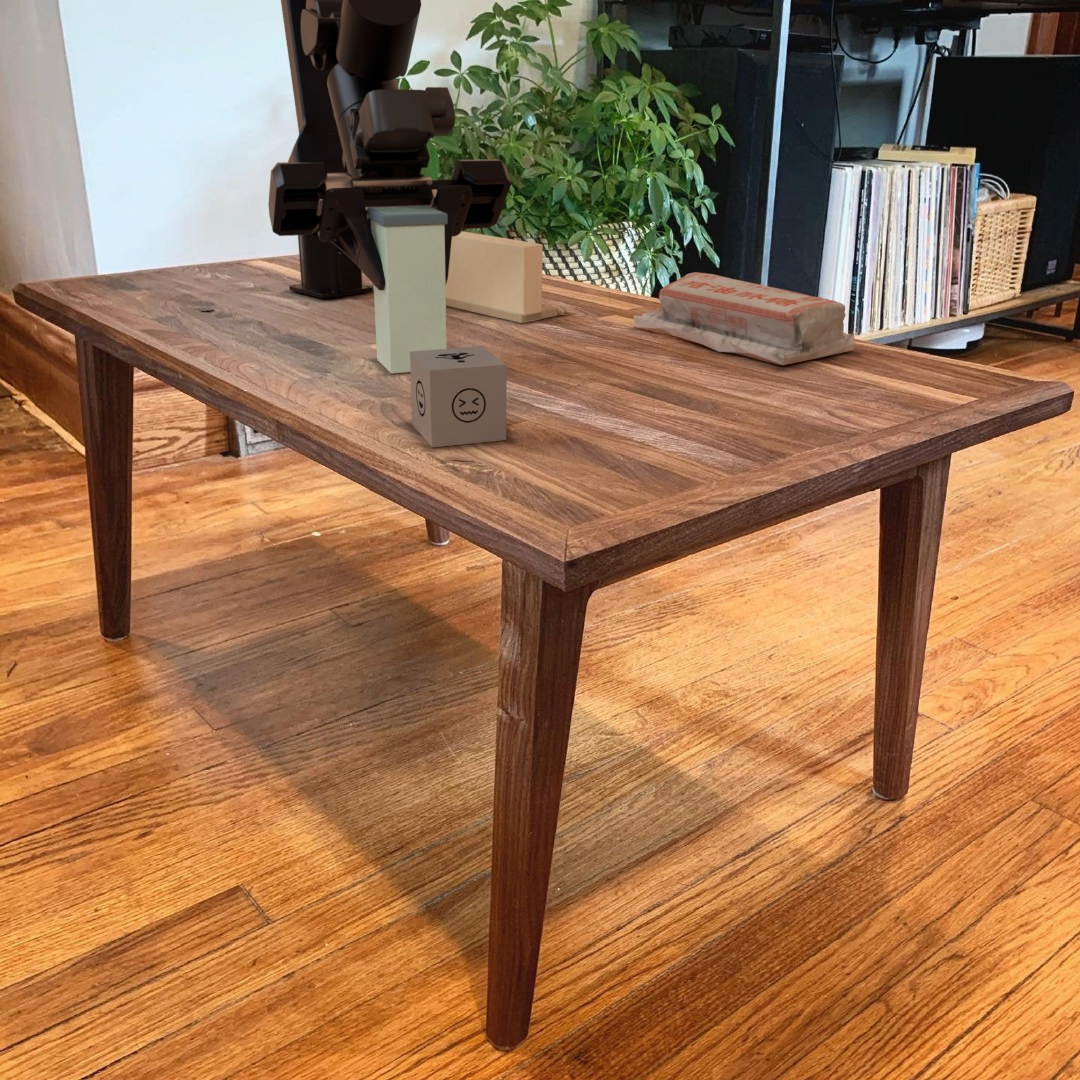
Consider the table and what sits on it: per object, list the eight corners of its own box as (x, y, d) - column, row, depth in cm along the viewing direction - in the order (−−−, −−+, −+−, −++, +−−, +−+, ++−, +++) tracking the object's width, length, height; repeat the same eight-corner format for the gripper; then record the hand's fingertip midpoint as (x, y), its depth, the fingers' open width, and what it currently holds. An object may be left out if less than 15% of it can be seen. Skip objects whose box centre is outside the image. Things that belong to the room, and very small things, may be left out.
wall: (430, 302, 109) (428, 231, 107) (466, 295, 113) (466, 227, 110) (521, 323, 101) (522, 247, 98) (557, 315, 105) (559, 241, 102)
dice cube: (482, 417, 74) (482, 346, 72) (506, 439, 70) (506, 364, 68) (412, 424, 73) (409, 351, 71) (431, 447, 68) (429, 370, 66)
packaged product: (866, 296, 91) (789, 310, 85) (858, 352, 93) (783, 370, 87) (709, 265, 104) (633, 276, 98) (705, 315, 106) (631, 328, 100)
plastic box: (373, 359, 88) (366, 207, 83) (432, 354, 90) (429, 205, 85) (389, 374, 84) (382, 215, 79) (450, 369, 86) (447, 213, 81)
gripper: (260, 44, 78) (300, 223, 73) (503, 50, 84) (554, 214, 79) (254, 152, 88) (289, 315, 83) (472, 149, 94) (516, 301, 89)
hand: (413, 285), depth 83 cm, fingers closed on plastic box, 4 cm apart
